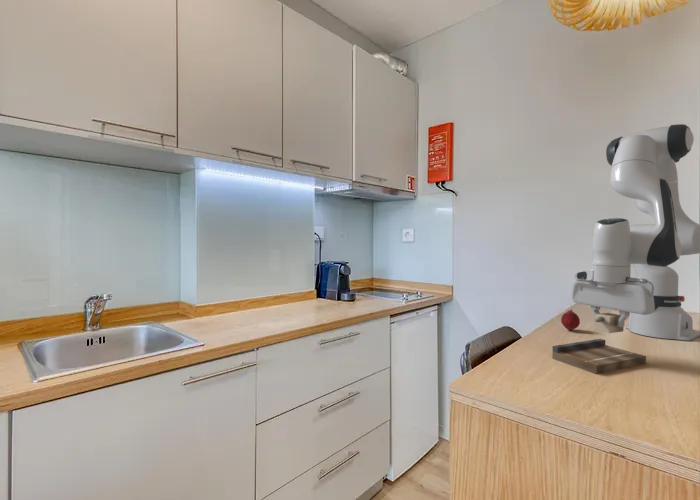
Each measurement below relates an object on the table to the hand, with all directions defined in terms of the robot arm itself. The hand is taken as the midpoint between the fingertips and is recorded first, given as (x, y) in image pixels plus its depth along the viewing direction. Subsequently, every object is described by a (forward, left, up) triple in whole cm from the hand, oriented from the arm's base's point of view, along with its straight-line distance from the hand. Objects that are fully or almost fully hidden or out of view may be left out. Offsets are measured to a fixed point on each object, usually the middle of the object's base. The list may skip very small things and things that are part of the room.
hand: (609, 324), depth 98 cm
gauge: (0, 0, -2) cm, 2 cm away
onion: (-17, -24, -10) cm, 31 cm away
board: (+6, +1, -9) cm, 11 cm away
